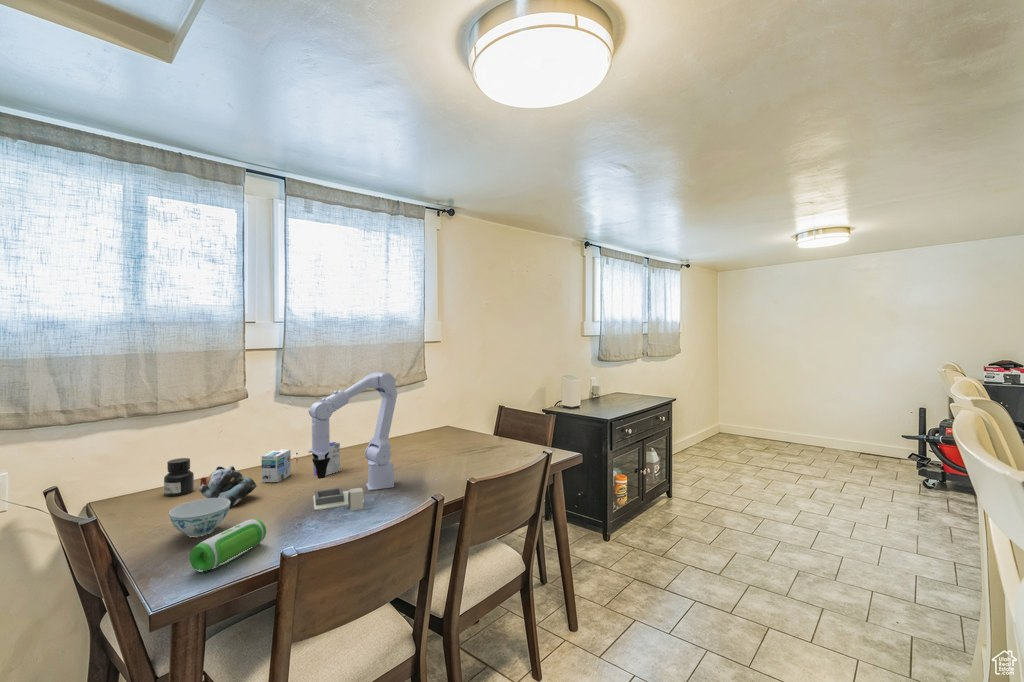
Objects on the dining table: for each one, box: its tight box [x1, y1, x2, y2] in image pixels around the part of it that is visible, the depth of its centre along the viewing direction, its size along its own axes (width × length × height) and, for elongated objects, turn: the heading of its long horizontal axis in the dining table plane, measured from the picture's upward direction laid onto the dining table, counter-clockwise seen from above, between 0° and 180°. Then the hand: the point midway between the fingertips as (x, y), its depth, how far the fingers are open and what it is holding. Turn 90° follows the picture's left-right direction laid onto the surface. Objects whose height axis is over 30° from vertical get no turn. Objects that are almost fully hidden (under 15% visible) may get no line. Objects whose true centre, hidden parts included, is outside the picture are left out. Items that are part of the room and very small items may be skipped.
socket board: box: [312, 487, 365, 512], centre depth 161 cm, size 16×14×2 cm
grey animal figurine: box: [198, 465, 258, 509], centre depth 159 cm, size 15×12×14 cm
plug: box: [347, 487, 364, 512], centre depth 154 cm, size 5×4×6 cm
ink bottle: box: [163, 457, 195, 497], centre depth 169 cm, size 10×9×12 cm
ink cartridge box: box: [312, 441, 341, 477], centre depth 192 cm, size 10×6×14 cm, turn 148°
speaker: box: [189, 518, 267, 572], centre depth 120 cm, size 18×7×8 cm, turn 164°
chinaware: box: [168, 498, 230, 537], centre depth 135 cm, size 15×15×8 cm
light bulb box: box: [261, 448, 292, 483], centre depth 185 cm, size 11×7×11 cm, turn 179°
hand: (321, 475), depth 160 cm, fingers open, 7 cm apart
